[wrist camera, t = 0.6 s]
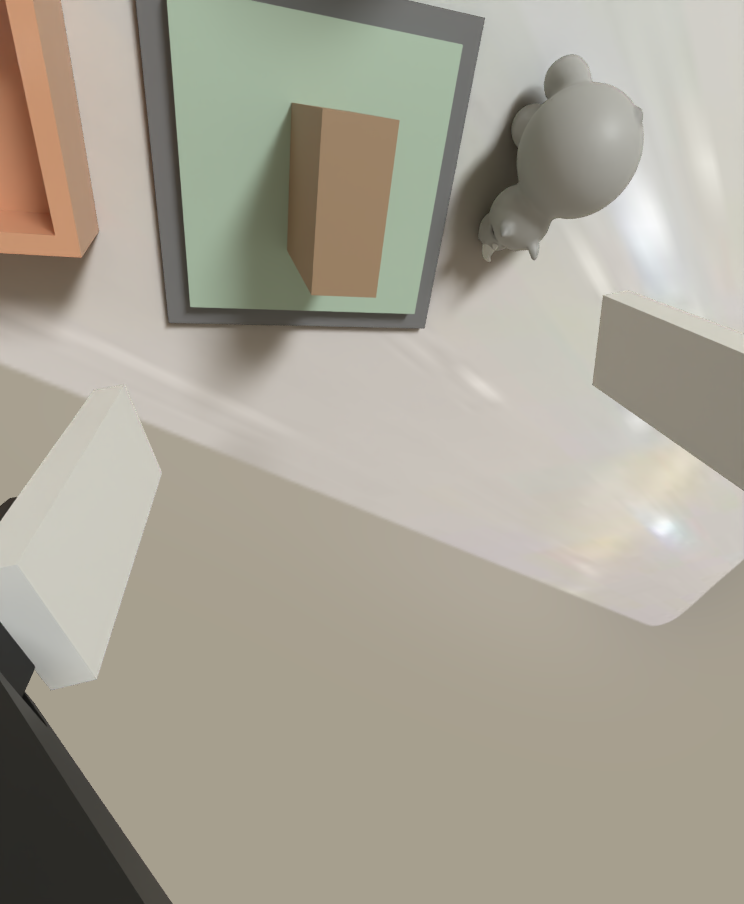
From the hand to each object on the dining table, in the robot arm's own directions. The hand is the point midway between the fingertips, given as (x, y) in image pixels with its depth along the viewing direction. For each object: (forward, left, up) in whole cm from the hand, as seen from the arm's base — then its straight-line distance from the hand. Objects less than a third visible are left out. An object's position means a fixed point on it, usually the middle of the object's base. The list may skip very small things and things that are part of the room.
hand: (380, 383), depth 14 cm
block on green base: (-2, +2, -24) cm, 24 cm away
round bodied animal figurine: (-4, +17, -25) cm, 30 cm away
